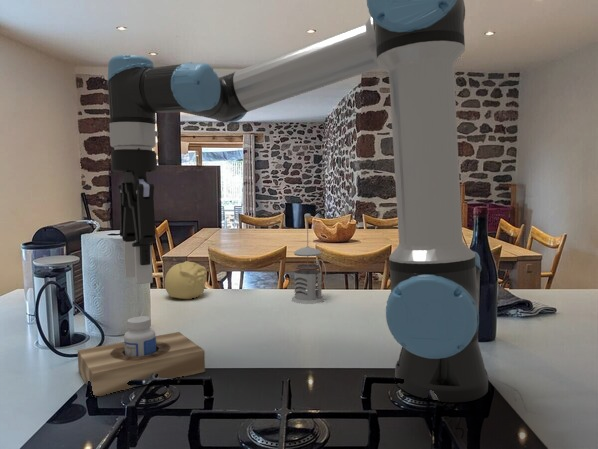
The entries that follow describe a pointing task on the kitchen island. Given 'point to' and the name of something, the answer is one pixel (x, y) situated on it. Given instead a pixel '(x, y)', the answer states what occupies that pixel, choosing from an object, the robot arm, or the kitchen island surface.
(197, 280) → the sculpture
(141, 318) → the pill bottle
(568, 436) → the kitchen island surface
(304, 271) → the french press
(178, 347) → the board
